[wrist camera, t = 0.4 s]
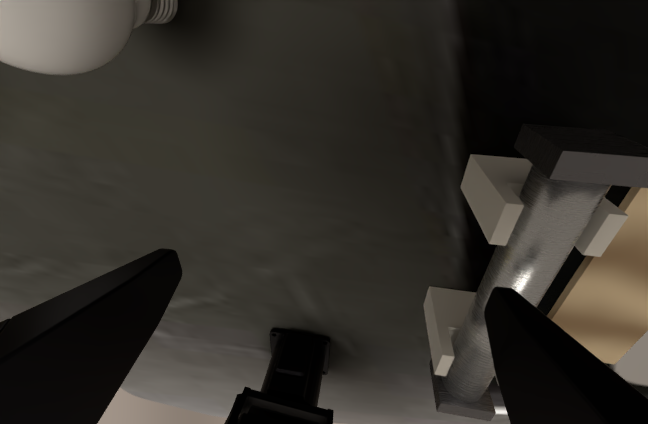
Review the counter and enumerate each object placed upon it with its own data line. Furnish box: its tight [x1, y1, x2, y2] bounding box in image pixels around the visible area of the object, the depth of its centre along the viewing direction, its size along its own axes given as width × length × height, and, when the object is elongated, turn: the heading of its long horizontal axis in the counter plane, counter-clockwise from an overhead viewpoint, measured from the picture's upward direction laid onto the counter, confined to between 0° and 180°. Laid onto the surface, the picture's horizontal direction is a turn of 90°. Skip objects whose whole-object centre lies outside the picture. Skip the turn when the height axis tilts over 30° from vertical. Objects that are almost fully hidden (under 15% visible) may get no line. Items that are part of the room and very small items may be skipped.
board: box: [547, 187, 648, 364], centre depth 21 cm, size 21×7×1 cm, turn 178°
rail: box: [430, 124, 648, 421], centre depth 18 cm, size 20×4×4 cm, turn 178°
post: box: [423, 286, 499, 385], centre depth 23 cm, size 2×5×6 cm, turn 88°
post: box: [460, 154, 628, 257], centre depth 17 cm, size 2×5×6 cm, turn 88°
